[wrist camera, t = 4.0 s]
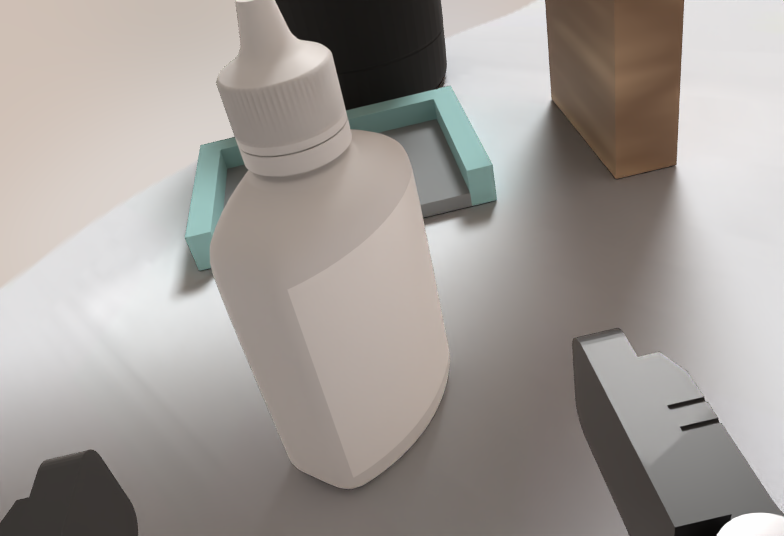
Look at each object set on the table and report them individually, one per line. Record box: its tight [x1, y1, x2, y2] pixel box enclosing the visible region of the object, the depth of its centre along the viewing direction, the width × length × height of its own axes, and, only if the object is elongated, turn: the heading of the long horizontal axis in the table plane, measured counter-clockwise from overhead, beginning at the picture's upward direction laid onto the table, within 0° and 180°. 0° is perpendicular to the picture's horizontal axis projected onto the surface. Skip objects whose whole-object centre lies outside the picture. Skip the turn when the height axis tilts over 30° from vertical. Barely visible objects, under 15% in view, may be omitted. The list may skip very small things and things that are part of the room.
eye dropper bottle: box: [210, 0, 450, 489], centre depth 18 cm, size 4×6×12 cm
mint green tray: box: [185, 86, 497, 271], centre depth 32 cm, size 12×8×2 cm, turn 98°
